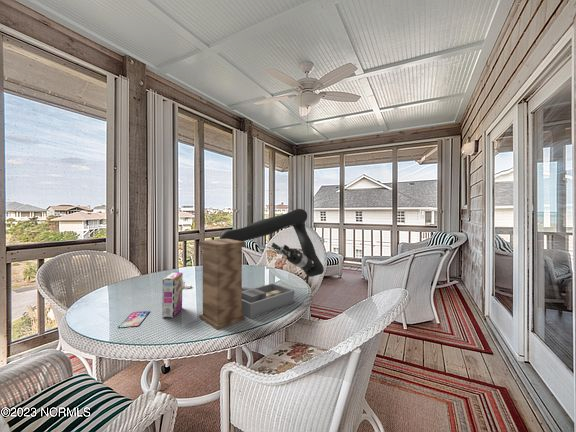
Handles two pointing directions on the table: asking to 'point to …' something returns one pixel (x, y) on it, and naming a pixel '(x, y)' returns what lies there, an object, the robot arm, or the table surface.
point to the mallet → (258, 295)
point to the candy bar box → (172, 295)
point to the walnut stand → (222, 282)
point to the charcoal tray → (268, 301)
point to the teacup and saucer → (185, 285)
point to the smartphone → (134, 319)
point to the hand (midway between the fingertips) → (277, 245)
